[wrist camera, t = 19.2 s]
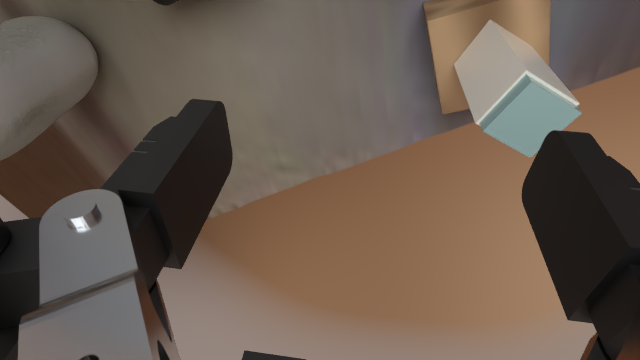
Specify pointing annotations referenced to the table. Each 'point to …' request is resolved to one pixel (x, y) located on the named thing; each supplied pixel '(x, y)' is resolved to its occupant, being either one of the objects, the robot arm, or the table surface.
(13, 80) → the glass bottle
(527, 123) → the cream carton
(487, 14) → the oak box
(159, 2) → the end cap
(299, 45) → the table surface
